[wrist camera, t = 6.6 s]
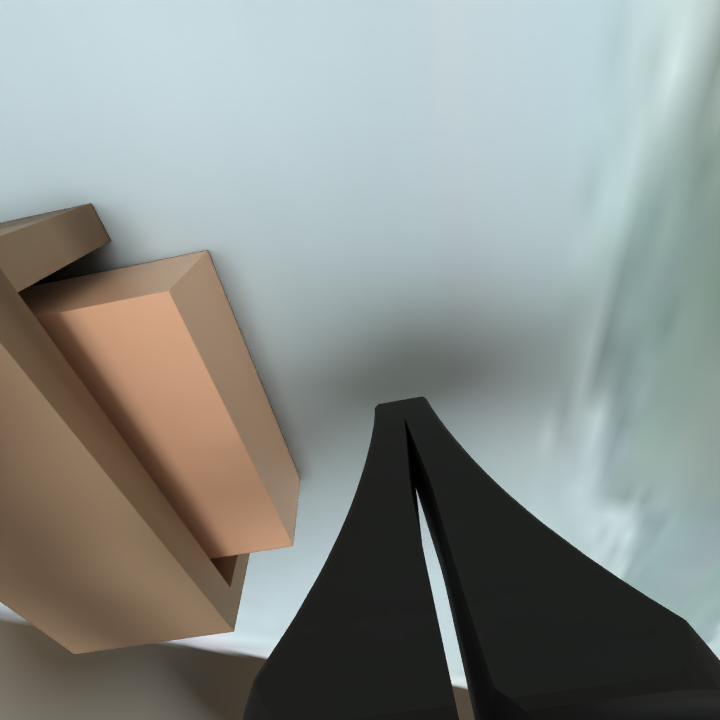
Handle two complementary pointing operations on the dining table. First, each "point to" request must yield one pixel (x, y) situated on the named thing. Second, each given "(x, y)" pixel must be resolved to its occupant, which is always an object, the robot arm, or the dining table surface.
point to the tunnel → (86, 485)
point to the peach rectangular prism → (180, 395)
